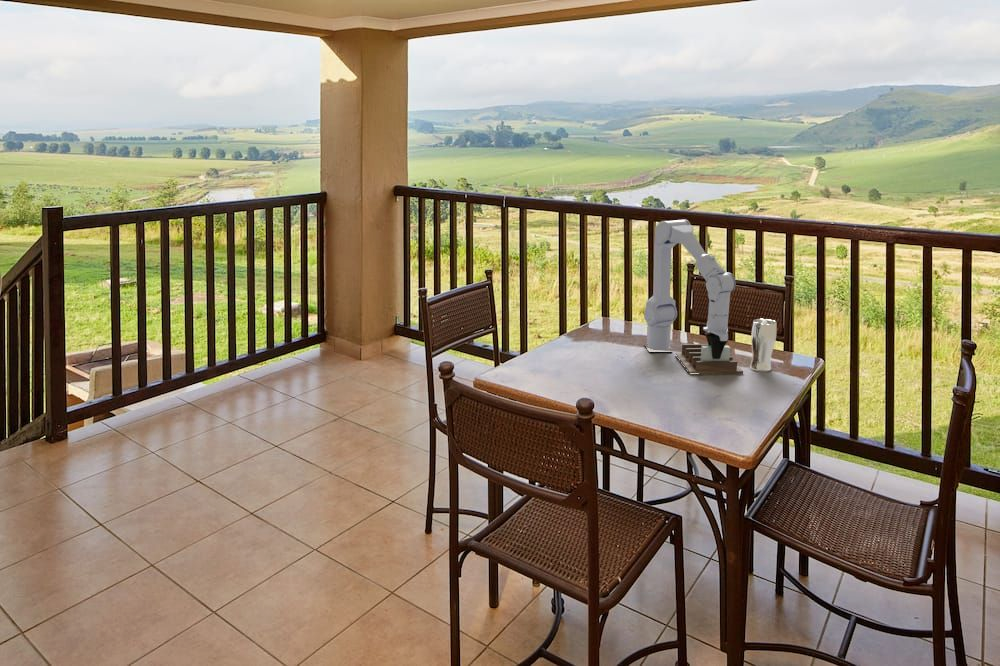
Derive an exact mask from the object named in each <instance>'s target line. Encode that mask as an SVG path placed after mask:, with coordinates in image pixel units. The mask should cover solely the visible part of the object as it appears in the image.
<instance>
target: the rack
mask: <svg viewBox="0 0 1000 666" xmlns="http://www.w3.org/2000/svg"><path fill="white" fill-rule="evenodd" d="M701 346H708V343H692V344H691V343H685V344H684V343H682V344H681V352H675V354H676V355H677V357H678V358H679V359H680V361H681V362H682V364H683V365H684V366H685V368H686V369H687V370H688V372H689V373H699V374H713V375H744V370H743V369H742V368H741V367H740V366H739V365H738V360H733V359H734V356H731V355H730V357H729V361H700V360H701ZM682 364H681V365H682ZM685 368H684V369H685ZM686 369H685V370H686ZM688 372H687V373H688ZM689 373H688V374H689Z"/></svg>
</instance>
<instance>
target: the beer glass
mask: <svg viewBox="0 0 1000 666" xmlns="http://www.w3.org/2000/svg"><path fill="white" fill-rule="evenodd" d="M777 323H778V322H777V321H776V320H774V319H773V320H772V319H770V318H769V319H768V318H758V319H757V318H756V319H753V323H752V328H751V335H750V337H751V338H750V339H751V340H750V341H751V342H750V343H751V353H752V355H751V361H750V365H749V368H750V370H752V371H756V372H761V373H762V372H763V373H767V372H770V371H771V370H772V364H771V358H772V354H773V351H774V348H775V345H776V340H777V331H778V330H777Z"/></svg>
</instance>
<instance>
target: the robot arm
mask: <svg viewBox="0 0 1000 666" xmlns="http://www.w3.org/2000/svg"><path fill="white" fill-rule="evenodd" d="M653 242H654V245H653V247H654V248H653V287H652V289H653V291H652V292H653V293H652V296H651V297H649V298H648V300H647V301H646V302H645V309H644V311H643V318H644V320H645V322H646V324H647V325H648V326H647V332H646V343H647V344H648V348H650V349H653V350H668V349H669V348H671V347H670V346H671V333H672V332H671V331H672V325H673V324H674V322H675V320H676V319H677V317H678V311H677V307H676V300H675V299H674V298H673V297H672V296H671V276H672V274H671V271H672V249H673V248H674V247H675V246H676V245H677V244H681V245H682V246H683V247H684V248H685V249H686V250H687V252H688V253H689V254H690V255H691V256H692V257H693V259H694V260H695V267H696V269H697V270H698V272H699V273H700V274H701V276H702V277H703V278H704V280H705V287H706V290H707V298H708V300H709V301H708V312H707V313H708V314H707V321H706V326H703V327H702V330H703V331H704V336H705V338H706V341H707V344H708V346H711V350H712V358H713V359H720V357H721V354H722V351H723V349H724V346H727V345H726V344H727V343H728V342H729V340H730V338H729V334H728V332H729V328H728V326H729V325H728V323H729V312H730V301H731V292H733V291H734V290H735V289H736V284H737V283H736V279H735V276H734V274H733V273H731V272H729V271H728V272H727V270H724V269H723V268H722V267H721V265H720V264H719V262H718V261H717V260H716V257H715V255H712V254H710V253H706V252H705V250H704V248H703V247H702V245H701V243H700V242H699V240H698V239H697V237H696V236H695V234H694V226H693V225H692V224H691V222H690V221H689V220H688V219H685V218H683V219H677V220H661V221H659V223H657V224H656V225H655V226H654V241H653Z"/></svg>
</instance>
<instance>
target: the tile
mask: <svg viewBox="0 0 1000 666" xmlns="http://www.w3.org/2000/svg"><path fill="white" fill-rule="evenodd" d="M730 353H731V346H729V345H725V346H724V349H723V351H722V354H721V357H720V359H713V358H712V350H711V346H701V360H700V361H729V357H730V356H731V355H730Z"/></svg>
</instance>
